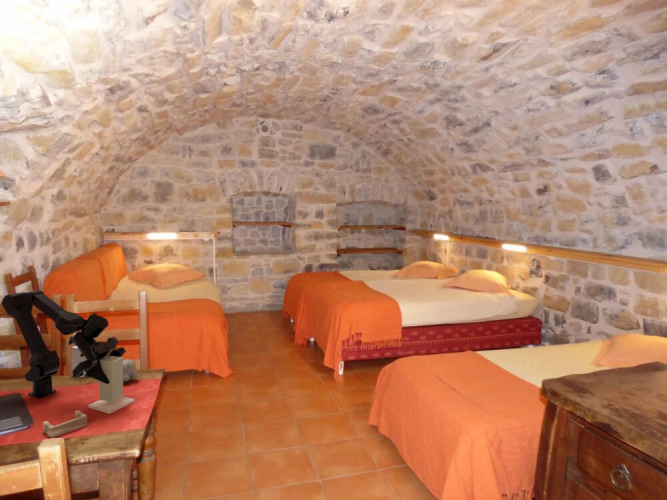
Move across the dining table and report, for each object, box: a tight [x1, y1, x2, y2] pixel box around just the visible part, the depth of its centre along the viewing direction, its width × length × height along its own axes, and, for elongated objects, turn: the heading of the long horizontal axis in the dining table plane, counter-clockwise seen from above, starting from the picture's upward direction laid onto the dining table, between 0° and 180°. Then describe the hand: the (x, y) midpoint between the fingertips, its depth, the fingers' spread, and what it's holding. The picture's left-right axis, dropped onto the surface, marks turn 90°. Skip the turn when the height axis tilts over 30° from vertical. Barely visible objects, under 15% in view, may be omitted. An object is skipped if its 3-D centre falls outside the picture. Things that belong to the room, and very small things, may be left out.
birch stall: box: [42, 410, 88, 439], centre depth 128 cm, size 6×10×3 cm, turn 145°
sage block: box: [99, 356, 124, 402], centre depth 144 cm, size 5×5×14 cm
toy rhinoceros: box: [123, 359, 139, 383], centre depth 166 cm, size 7×12×8 cm, turn 54°
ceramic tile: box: [88, 395, 135, 415], centre depth 144 cm, size 10×10×1 cm
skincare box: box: [71, 345, 87, 379], centre depth 169 cm, size 6×4×12 cm
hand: (114, 380), depth 143 cm, fingers closed on sage block, 5 cm apart
